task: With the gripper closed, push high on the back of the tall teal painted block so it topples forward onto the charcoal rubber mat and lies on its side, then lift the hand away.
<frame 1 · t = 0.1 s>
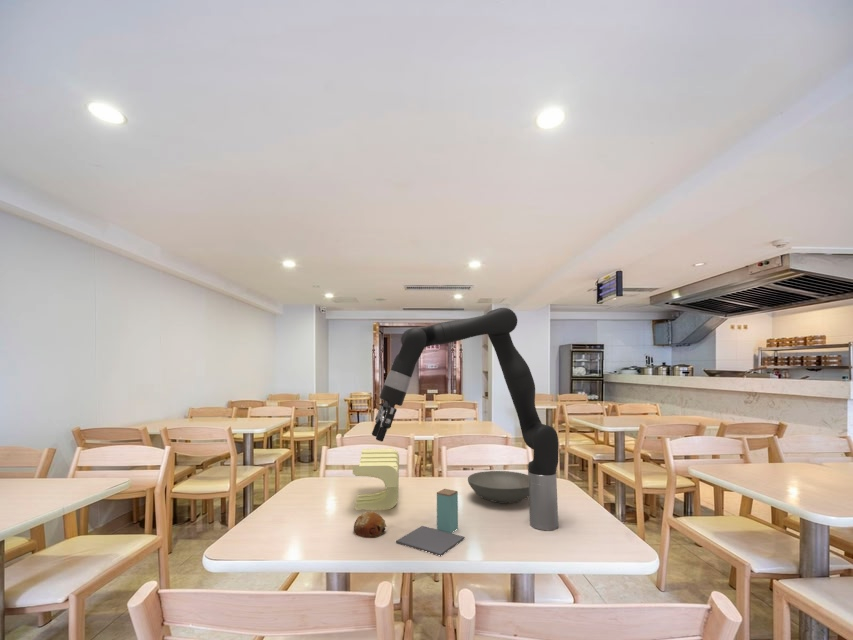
hand: (376, 438, 125), 31 cm above the table, tool tilted 20°, fingers open, 8 cm apart
slatted curved stool: (377, 504, 159), on the table
bread roll: (370, 532, 132), on the table
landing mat: (430, 540, 125), on the table
teal block: (447, 529, 133), on the table
bowl: (503, 500, 163), on the table
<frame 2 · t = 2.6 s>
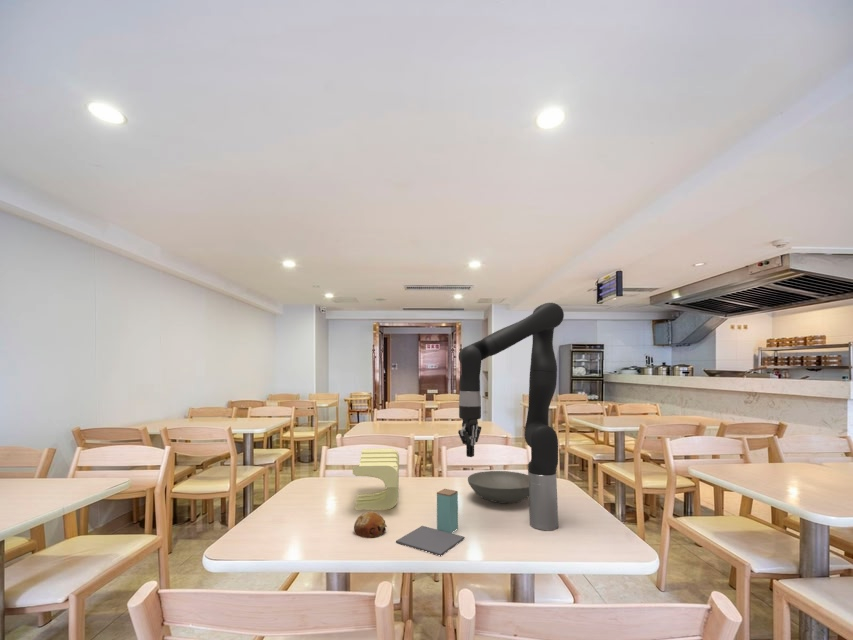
hand: (470, 456, 138), 23 cm above the table, tool pointing down, fingers closed
nothing on the table moved.
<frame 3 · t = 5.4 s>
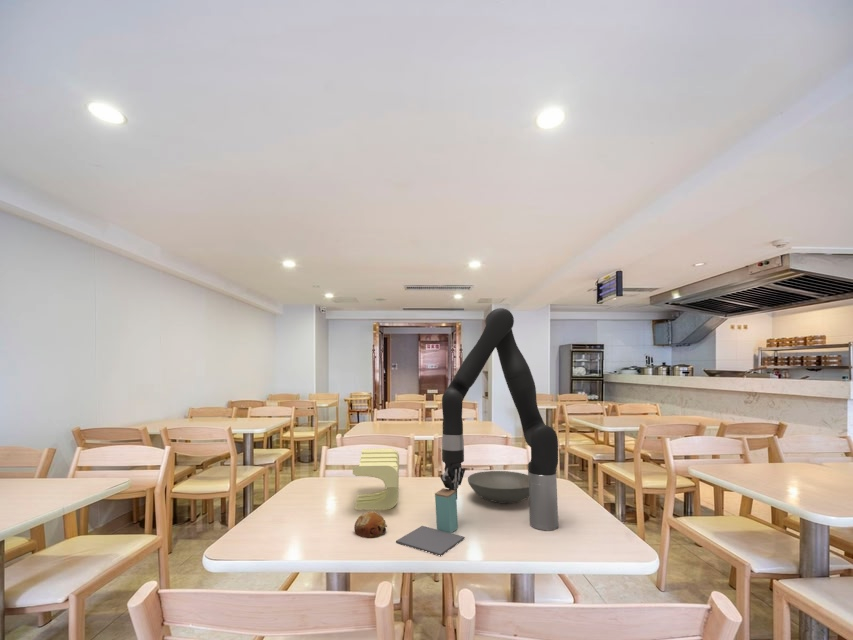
hand: (453, 500, 138), 8 cm above the table, tool pointing down, fingers closed
teal block: (447, 529, 133), on the table, tilted 5°, touching gripper
everything else where it was.
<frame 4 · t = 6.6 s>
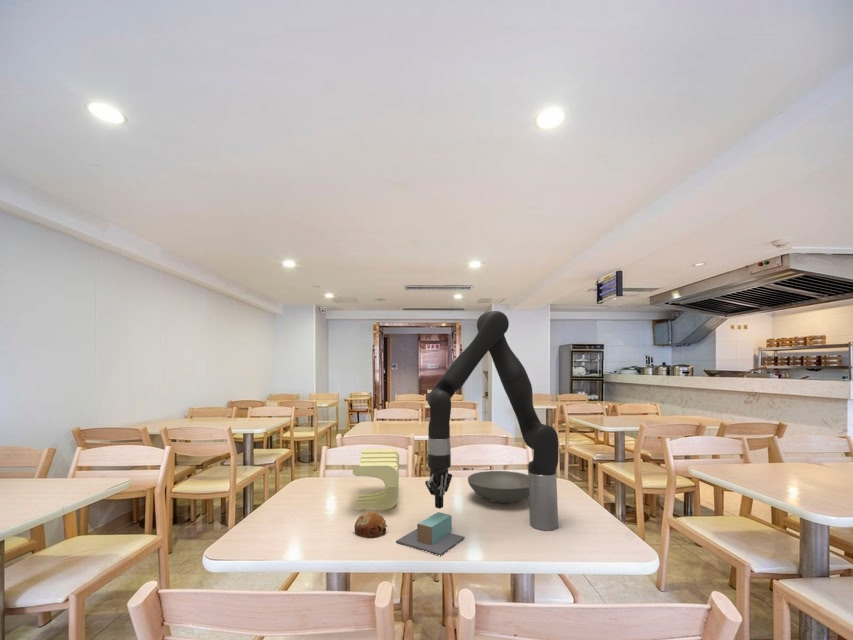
hand: (439, 507, 131), 8 cm above the table, tool pointing down, fingers closed
teal block: (444, 521, 132), point 3 cm above the table, tilted 90°, touching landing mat
everything else where it was.
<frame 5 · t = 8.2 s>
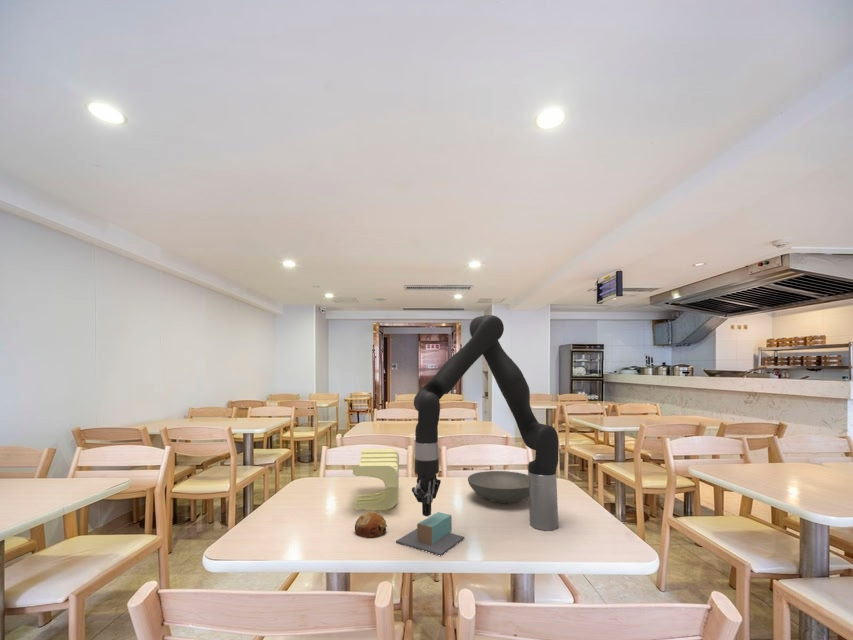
hand: (426, 515, 124), 8 cm above the table, tool pointing down, fingers closed
nothing on the table moved.
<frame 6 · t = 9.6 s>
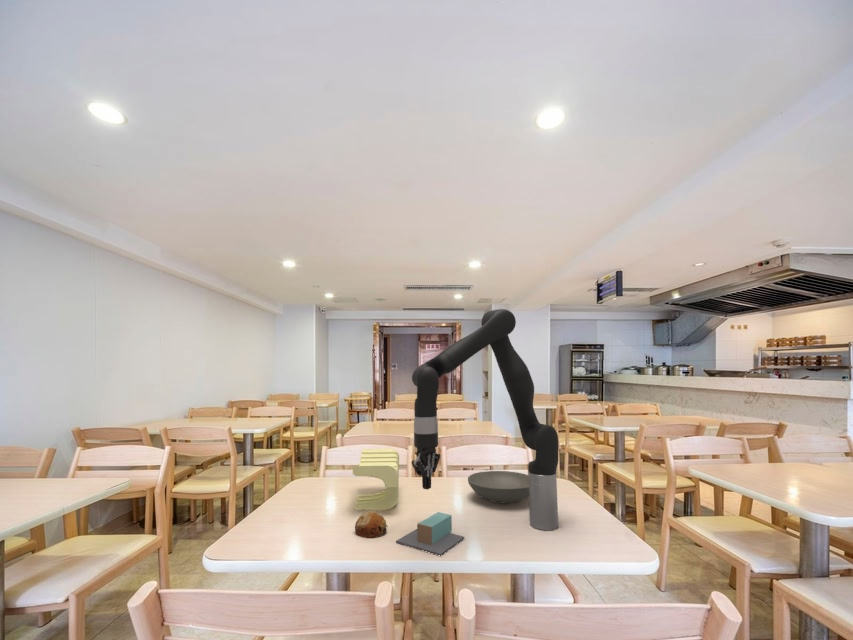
hand: (426, 488, 125), 16 cm above the table, tool pointing down, fingers closed
nothing on the table moved.
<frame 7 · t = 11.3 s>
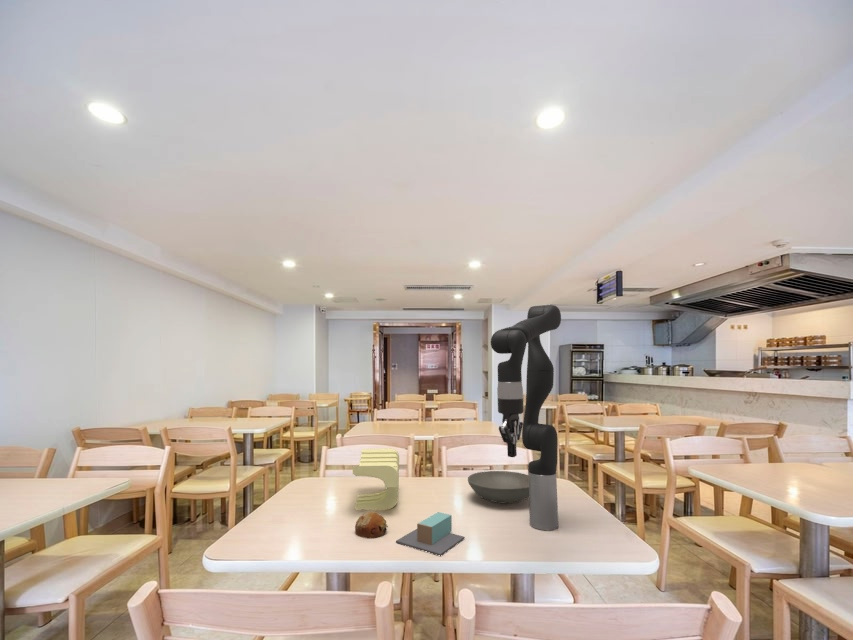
hand: (512, 456, 120), 27 cm above the table, tool pointing down, fingers closed
nothing on the table moved.
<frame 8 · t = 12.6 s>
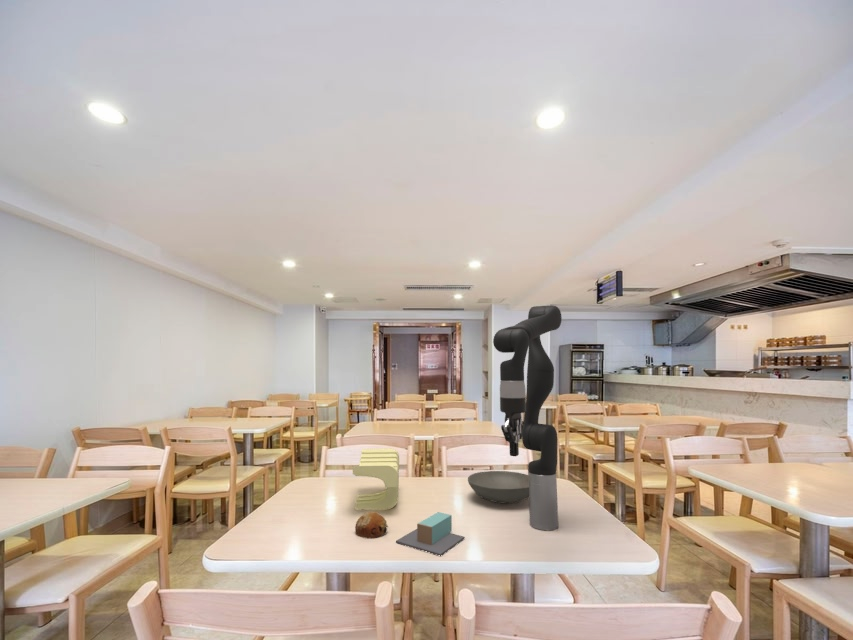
hand: (514, 455, 120), 27 cm above the table, tool pointing down, fingers closed
nothing on the table moved.
at the end: teal block tilted 90°; teal block touching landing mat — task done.
